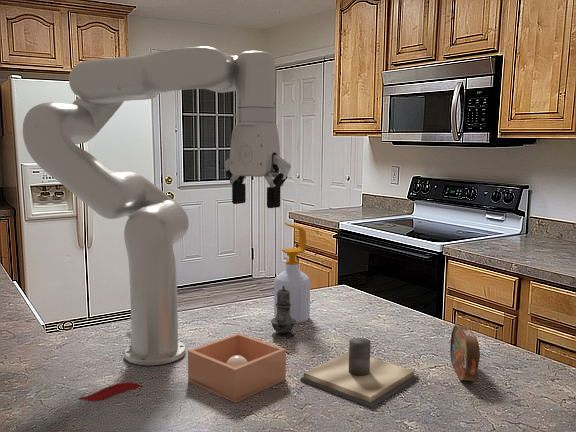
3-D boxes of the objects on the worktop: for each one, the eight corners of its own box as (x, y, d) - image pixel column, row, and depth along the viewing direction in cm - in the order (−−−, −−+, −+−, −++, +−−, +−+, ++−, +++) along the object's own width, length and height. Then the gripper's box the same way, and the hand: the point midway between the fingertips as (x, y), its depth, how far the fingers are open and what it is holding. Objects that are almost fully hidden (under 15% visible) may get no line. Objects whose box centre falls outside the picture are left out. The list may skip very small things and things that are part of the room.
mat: (300, 380, 106) (300, 377, 106) (349, 356, 118) (350, 354, 118) (372, 408, 95) (372, 404, 95) (418, 378, 107) (418, 375, 107)
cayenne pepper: (75, 406, 96) (74, 396, 96) (76, 394, 100) (76, 384, 100) (146, 397, 100) (146, 387, 99) (145, 386, 104) (145, 376, 104)
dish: (188, 381, 105) (187, 350, 104) (238, 361, 115) (238, 333, 114) (235, 403, 97) (235, 369, 96) (285, 379, 106) (285, 349, 105)
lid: (303, 377, 106) (303, 342, 105) (349, 355, 117) (350, 323, 116) (370, 402, 96) (371, 363, 95) (413, 375, 107) (415, 340, 106)
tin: (448, 357, 118) (450, 318, 117) (463, 358, 118) (465, 319, 117) (462, 388, 103) (465, 344, 102) (480, 389, 103) (482, 345, 102)
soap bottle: (270, 314, 146) (270, 221, 142) (302, 311, 148) (304, 220, 145) (279, 325, 137) (280, 226, 134) (314, 322, 140) (315, 225, 137)
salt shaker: (293, 341, 127) (293, 289, 125) (268, 339, 128) (268, 288, 126) (297, 332, 132) (298, 283, 131) (273, 330, 134) (273, 281, 132)
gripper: (211, 118, 111) (212, 203, 114) (275, 116, 100) (274, 211, 102) (239, 119, 117) (239, 200, 119) (302, 117, 105) (301, 207, 108)
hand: (255, 205), depth 111 cm, fingers open, 9 cm apart
